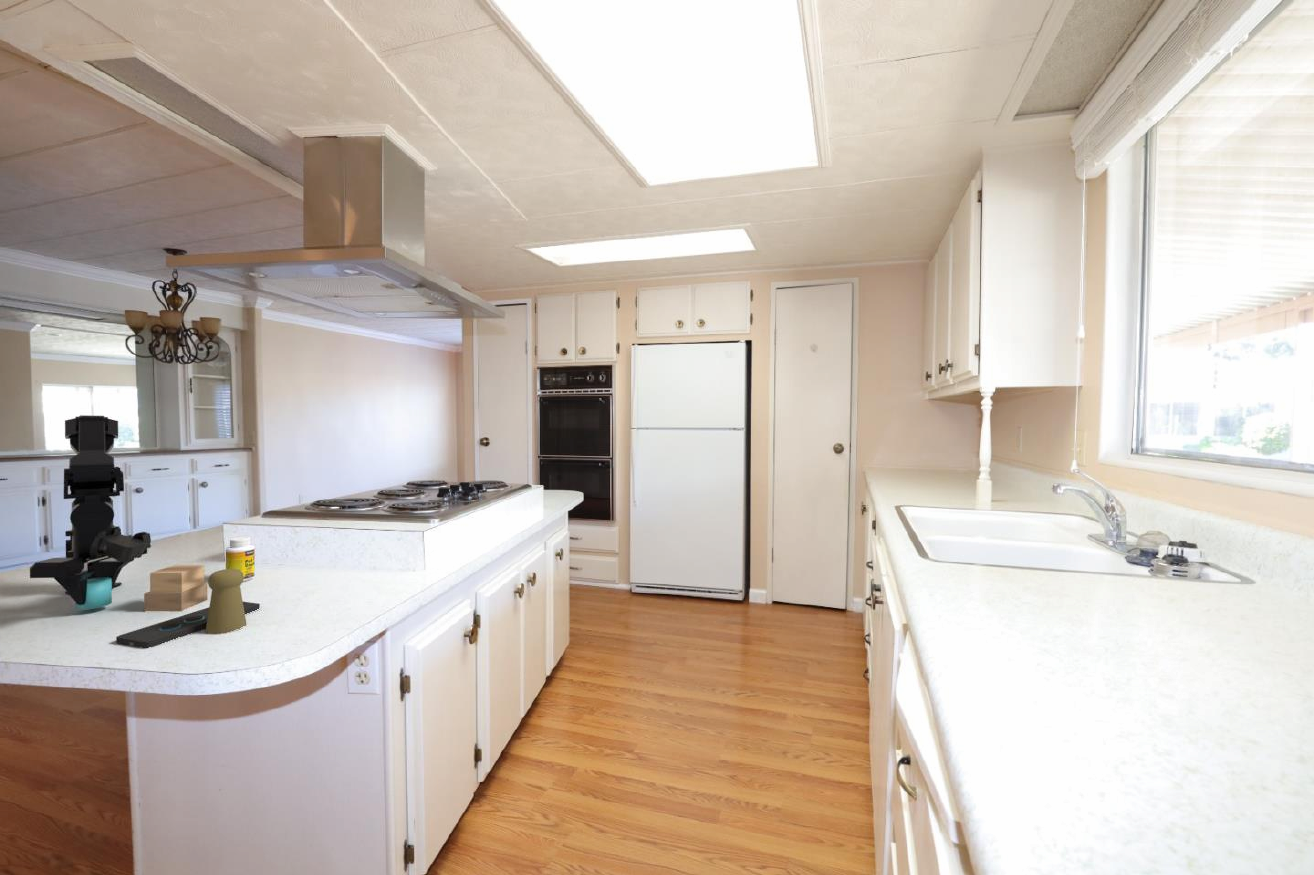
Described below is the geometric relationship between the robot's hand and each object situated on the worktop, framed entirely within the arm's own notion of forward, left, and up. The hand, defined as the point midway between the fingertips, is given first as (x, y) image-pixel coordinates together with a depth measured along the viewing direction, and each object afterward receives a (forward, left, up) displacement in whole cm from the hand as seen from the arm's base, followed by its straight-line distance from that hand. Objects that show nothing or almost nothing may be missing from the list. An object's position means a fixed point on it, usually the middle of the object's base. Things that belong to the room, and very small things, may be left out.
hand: (94, 600), depth 107 cm
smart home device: (+9, +25, -3) cm, 27 cm away
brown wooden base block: (-2, +14, -2) cm, 14 cm away
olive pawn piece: (+11, +32, -2) cm, 34 cm away
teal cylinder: (0, 0, -1) cm, 1 cm away
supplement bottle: (-20, +15, -2) cm, 25 cm away
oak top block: (-2, +14, +2) cm, 14 cm away
